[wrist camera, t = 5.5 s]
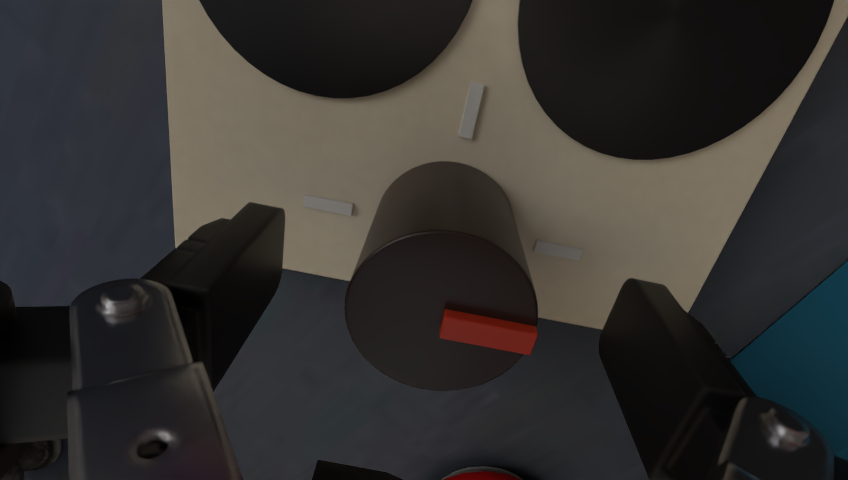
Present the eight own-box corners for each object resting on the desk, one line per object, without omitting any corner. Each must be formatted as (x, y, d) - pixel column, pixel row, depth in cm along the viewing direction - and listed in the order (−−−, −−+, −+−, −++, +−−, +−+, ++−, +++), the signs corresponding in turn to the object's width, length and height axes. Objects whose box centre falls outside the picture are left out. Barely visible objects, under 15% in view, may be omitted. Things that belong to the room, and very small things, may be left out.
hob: (211, 254, 18) (174, 294, 15) (204, -282, 11) (136, -360, 9) (627, 334, 18) (654, 384, 16) (851, -133, 12) (954, -168, 9)
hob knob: (367, 272, 15) (331, 383, 10) (387, 147, 13) (353, 218, 9) (494, 296, 15) (510, 416, 10) (531, 176, 13) (568, 261, 9)
